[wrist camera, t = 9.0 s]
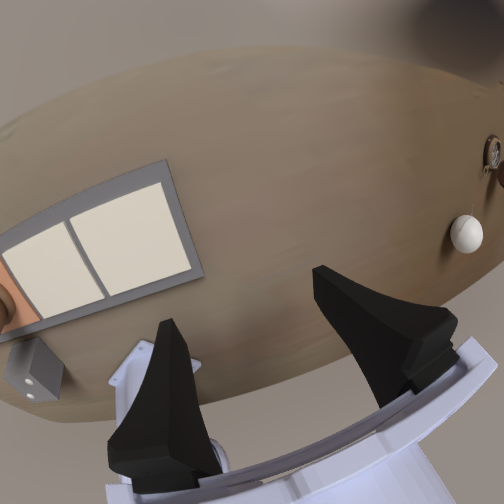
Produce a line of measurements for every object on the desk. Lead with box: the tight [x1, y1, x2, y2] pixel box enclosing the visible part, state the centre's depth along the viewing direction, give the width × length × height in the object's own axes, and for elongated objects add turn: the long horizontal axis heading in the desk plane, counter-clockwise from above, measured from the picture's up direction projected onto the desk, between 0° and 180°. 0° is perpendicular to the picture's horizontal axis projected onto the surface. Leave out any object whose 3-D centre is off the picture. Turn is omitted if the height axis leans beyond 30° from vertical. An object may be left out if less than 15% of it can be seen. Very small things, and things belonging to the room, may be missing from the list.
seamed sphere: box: [450, 205, 483, 253], centre depth 30 cm, size 8×6×6 cm
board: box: [0, 159, 205, 343], centre depth 18 cm, size 33×10×1 cm, turn 102°
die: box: [3, 337, 64, 403], centre depth 20 cm, size 5×5×5 cm
